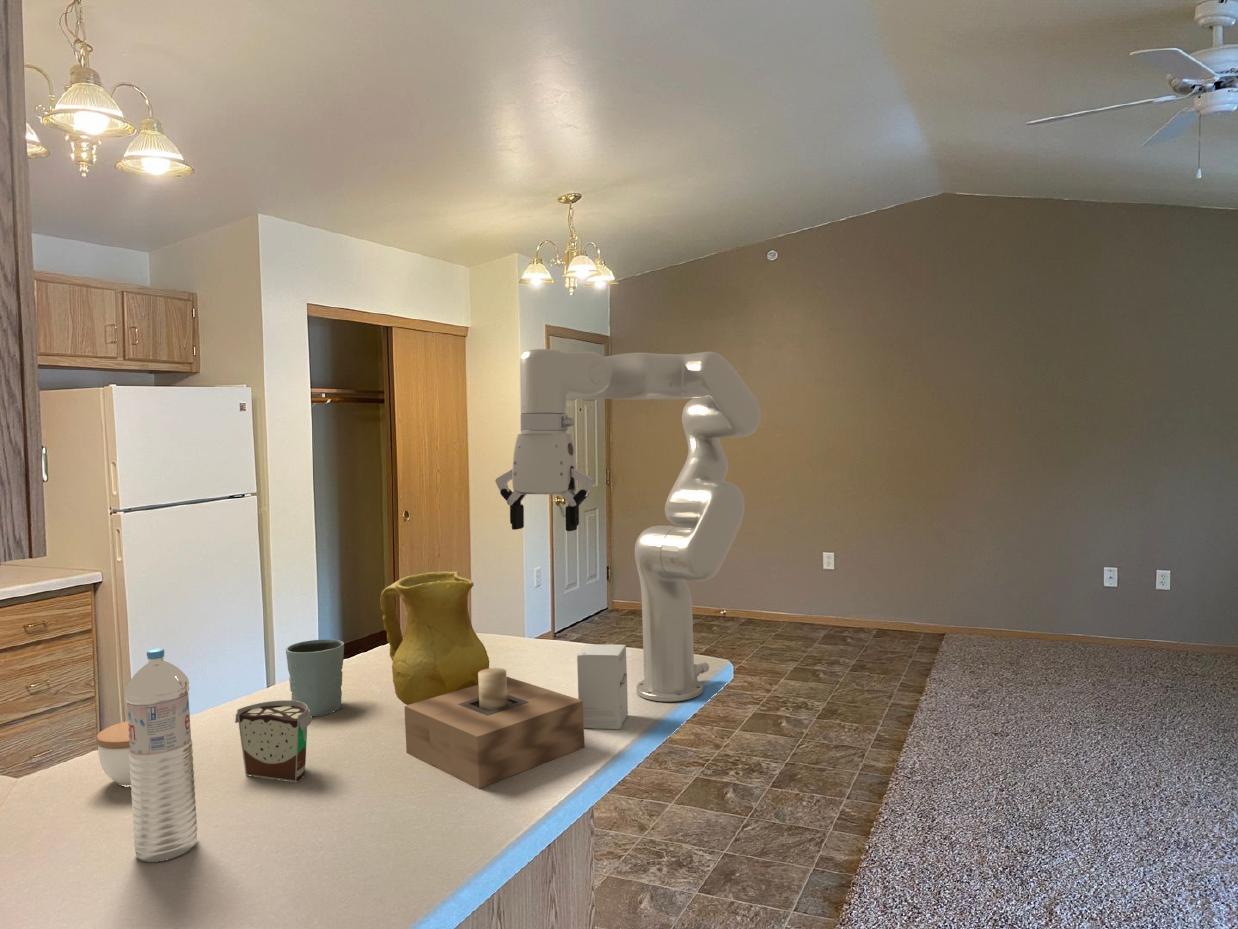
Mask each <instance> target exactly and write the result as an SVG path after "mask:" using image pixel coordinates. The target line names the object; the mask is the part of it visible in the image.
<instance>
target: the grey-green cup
mask: <svg viewBox="0 0 1238 929" xmlns="http://www.w3.org/2000/svg"><path fill="white" fill-rule="evenodd" d="M344 642H345V641H342V640H339V639H332V638H331V639H330V638H329V639H327V638H326V639H323V638H322V639H311V640H307V641H305V640H304V641H300V642H297V643H293V644H291V645H289V646H287V647H286V648H285V655H286V660H287V661H286V662H287V671H288V673H289V677H288V678H289V688H290V690H289V691H290V692H291V696H290V697H291V698H290V700H292V701H299V702H303V703H305V704H306V705H307V707H308V708H309V710H310V713H311V716H316V717H319V716H318V715H322V716H325V715H324V714H326V715H328V714H327V713H330V712H332V713H334V712H333V711H335V712H337V711H339V708H340V709H341V708H342V707H341V706H342V694H343V693H342V686H343V670H342V669H343V665H344V654H345V653H344V652H345V651H344V650H345V643H344ZM336 710H337V711H336ZM330 714H331V713H330Z"/></svg>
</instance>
